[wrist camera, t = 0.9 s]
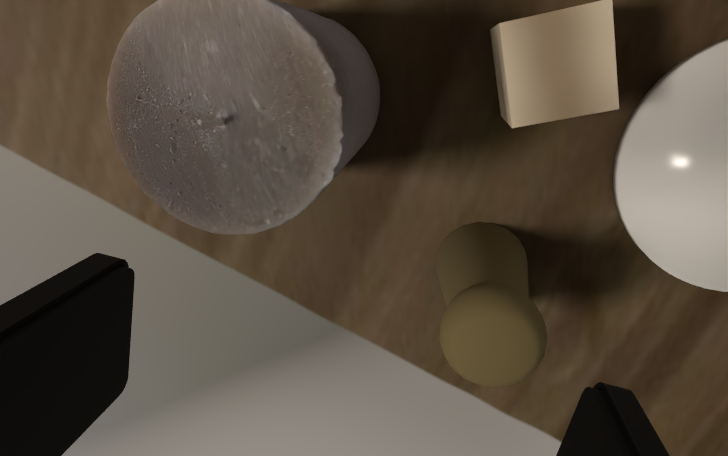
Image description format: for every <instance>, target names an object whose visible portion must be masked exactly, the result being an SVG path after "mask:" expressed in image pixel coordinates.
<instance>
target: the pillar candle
mask: <svg viewBox="0 0 728 456" xmlns="http://www.w3.org/2000/svg"><path fill="white" fill-rule="evenodd" d="M107 89H108V91H107V98H106V104H107V107H108V117H109V121H110V126H111V131H112V134H113V140H114V141H115V145H116V148H117V150H118V151H119V154H120V156H121V158H122V160H123V162H124V164H125V166H126V168H127V169H128V170H129V172H130V173H131V175H132V176H133V178H134V179H135V180H136V181H137V183H138V184H139V186H140V187H141V189H142V191H143V192H145V193H146V195H147V196H148V197H150V198H151V199H152V200H153V201H154V202H156V203H157V204H158V205H159V206H160V207H161V208H162V209H164V210H165V211H166V212H167V213H169V214H170V215H171V216H173V217H175V218H176V219H178V220H180V221H182V222H184V223H186V224H189V225H191V226H193V227H195V228H198V229H202V230H205V231H208V232H211V233H217V234H225V235H245V234H255V233H259V232H262V231H266V230H268V229H271V228H274V227H277V226H280V225H282V224H284V223H286V222H288V221H289V220H291V219H293V218H294V217H296V216H297V215H299V214H300V213H301V212H303V211H304V210H305V209H306V208H307V207H308V206H310V204H311V203H312V202H313V201H314V200H315V199H316V198H317V197H318V196H319V195H320V194H321V193H322V192H323V190H324V189H325V188H326V187H327V186H328V185H329V184H330V182H331V181H332V180H333V179H334V178H335V177H336V176H337V174H338V173H339V172H340V171H341V170H342V169H343V168H344V166H345V165H346V164H347V163H348V162H349V161H350V160H351V159H352V157H353V156H354V155H355V154H356V153H357V152H358V151H359V149H360V148H361V147H362V146H363V145H364V144H365V142H366V141H367V140H368V138H369V137H370V135H371V133H372V131H373V129H374V126H375V124H376V121H377V116H378V112H379V106H380V85H379V80H378V76H377V72H376V69H375V67H374V65H373V62H372V60H371V58H370V56H369V54H368V52H367V51H366V49H365V48H364V46H363V45H362V44H361V43H360V41H359V40H358V39H357V38H356V37H355V35H354V34H352V33H351V32H350V31H349V30H347V29H346V28H345V27H343V26H342V25H340V24H339V23H338V22H335V21H333V20H332V19H329V18H325V17H323V16H320V15H319V14H316V13H313V12H310V11H307V10H304V9H302V8H299V7H296V6H294V5H289V4H286V3H282V2H278V1H275V0H158V1H156V2H155V3H153V4H152V5H150V6H149V7H147V8H146V9H145V10H143V11H142V12H141V13H140V14H138V15H137V16H136V18H135V19H134V20H133V21H132V23H131V24H130V26H129V27H128V29H127V30H126V31H125V33H124V35H123V36H122V38H121V40H120V42H119V44H118V47H117V49H116V52H115V55H114V58H113V61H112V65H111V69H110V74H109V78H108V84H107Z"/></svg>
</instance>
